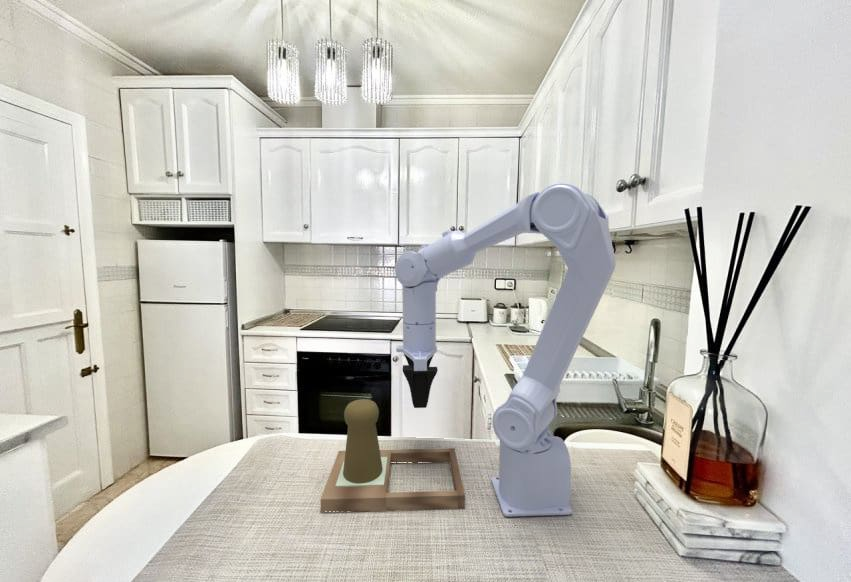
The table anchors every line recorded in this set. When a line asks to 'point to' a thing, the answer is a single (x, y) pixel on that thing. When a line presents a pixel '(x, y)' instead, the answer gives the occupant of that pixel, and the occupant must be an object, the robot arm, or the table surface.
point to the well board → (376, 494)
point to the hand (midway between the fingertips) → (419, 397)
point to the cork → (362, 442)
